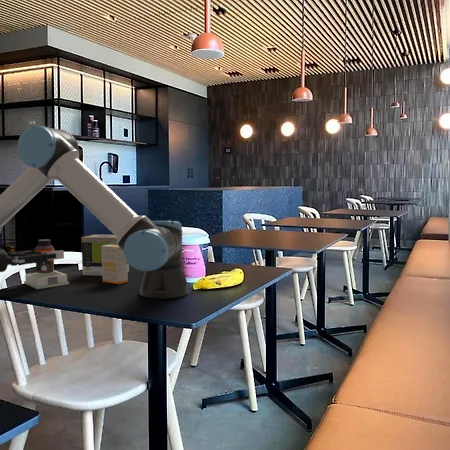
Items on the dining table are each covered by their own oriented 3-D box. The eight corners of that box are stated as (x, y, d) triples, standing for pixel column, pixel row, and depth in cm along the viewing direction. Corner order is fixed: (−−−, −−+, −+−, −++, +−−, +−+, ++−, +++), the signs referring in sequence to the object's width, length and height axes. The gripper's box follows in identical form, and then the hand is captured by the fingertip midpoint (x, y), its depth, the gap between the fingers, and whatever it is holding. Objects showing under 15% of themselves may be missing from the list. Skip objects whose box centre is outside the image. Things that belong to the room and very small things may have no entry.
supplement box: (128, 282, 174) (127, 245, 173) (118, 284, 170) (117, 247, 169) (112, 279, 178) (111, 243, 177) (101, 282, 174) (100, 245, 173)
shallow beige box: (68, 284, 171) (68, 274, 171) (37, 289, 164) (36, 279, 164) (54, 278, 180) (54, 270, 180) (24, 283, 173) (23, 274, 173)
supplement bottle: (48, 274, 168) (47, 241, 167) (32, 273, 169) (31, 240, 168) (57, 270, 174) (56, 238, 173) (42, 270, 175) (41, 238, 174)
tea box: (129, 272, 192) (129, 234, 191) (118, 277, 183) (117, 237, 181) (95, 270, 196) (93, 233, 195) (81, 275, 186) (80, 236, 185)
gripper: (-20, 269, 165) (46, 260, 182) (4, 277, 152) (72, 267, 169) (-21, 247, 164) (45, 240, 181) (3, 253, 151) (71, 245, 168)
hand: (58, 253), depth 175 cm, fingers closed on supplement bottle, 6 cm apart
